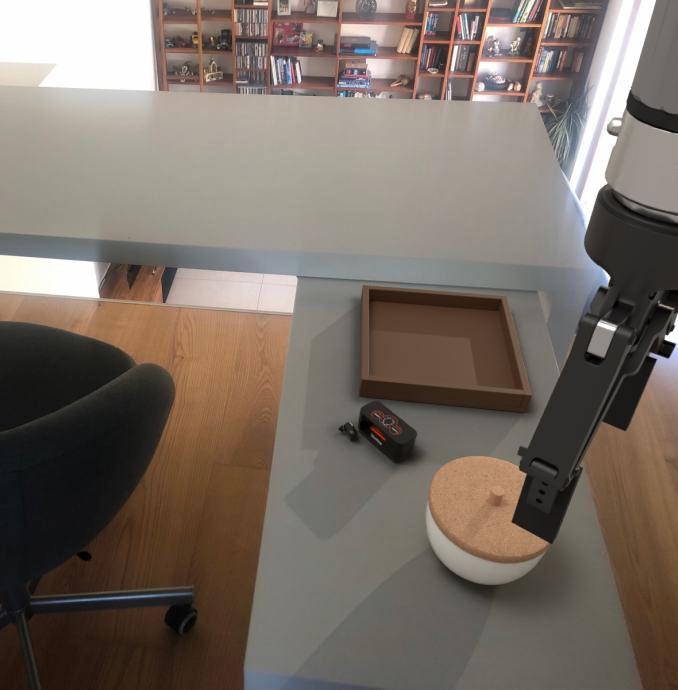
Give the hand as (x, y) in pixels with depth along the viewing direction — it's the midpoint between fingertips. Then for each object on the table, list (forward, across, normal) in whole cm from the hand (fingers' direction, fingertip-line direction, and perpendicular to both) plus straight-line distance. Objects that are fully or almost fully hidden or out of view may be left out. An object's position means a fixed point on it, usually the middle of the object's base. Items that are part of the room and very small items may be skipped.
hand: (573, 471), depth 49 cm
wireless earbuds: (+17, -8, -20) cm, 28 cm away
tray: (+16, -26, -23) cm, 38 cm away
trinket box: (+18, -3, -6) cm, 19 cm away
